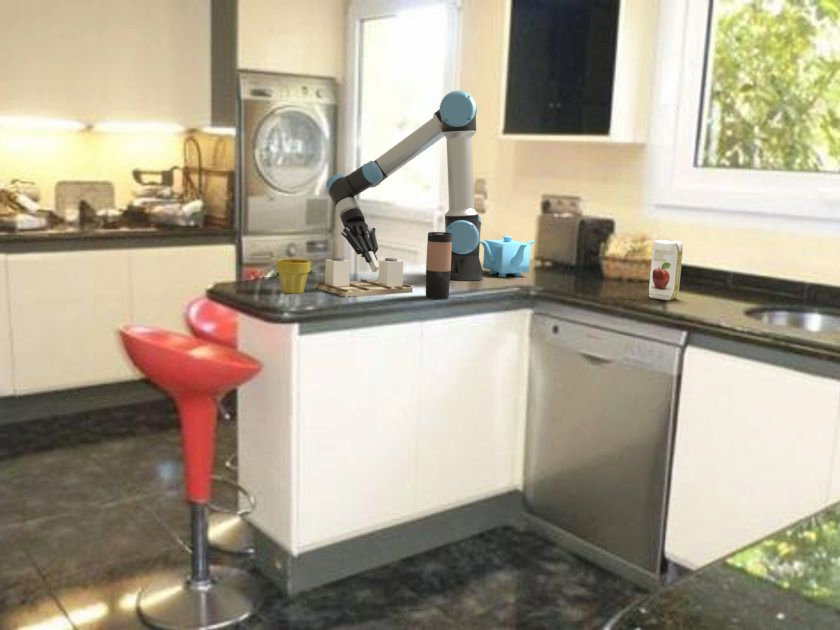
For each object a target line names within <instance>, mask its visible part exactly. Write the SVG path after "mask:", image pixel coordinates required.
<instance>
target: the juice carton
mask: <svg viewBox="0 0 840 630" xmlns="http://www.w3.org/2000/svg"><path fill="white" fill-rule="evenodd" d="M683 249H684V247H683V242H682V241H670V240H666V239H665V240H664V239H659V240H658V239H657V240H655V241H654V244H653V247H652V253H651V254H652V255H651V263H650V264H651V265H650V275H649V276H650V277H649V287H648V291H649V292H648V294H649V298H651V299H657V300H663V301H672V300H676V299H677V297H678V295H679V291H680V282H681V271H682V264H683V263H682V261H683V252H684V250H683Z"/></svg>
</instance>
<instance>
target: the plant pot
mask: <svg viewBox="0 0 840 630" xmlns="http://www.w3.org/2000/svg"><path fill="white" fill-rule="evenodd" d="M276 271H277V272H278V276H279V281H280V286H281V292H283V293H285V294H303V293H304V292H305V288H306V283H307V279H308V275H309V273H310V272H311V260H309V259H302V258H279V259H277V260H276Z"/></svg>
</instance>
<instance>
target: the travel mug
mask: <svg viewBox="0 0 840 630" xmlns="http://www.w3.org/2000/svg"><path fill="white" fill-rule="evenodd" d="M426 244H427V246H426V262H425V298H427V299H431V300H447V299H449V298H450V297H449V294H450V285H451V284H450V282H451V279H450V273H451V250H452V233H446V232H445V231H444V232H443V231H429V232H427V243H426Z"/></svg>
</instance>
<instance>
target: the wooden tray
mask: <svg viewBox="0 0 840 630" xmlns="http://www.w3.org/2000/svg"><path fill="white" fill-rule="evenodd" d="M315 285H316V287H315V289H317V288H320V289H323V290H326V291H330V292H333V293H336V294H339V295H338V296H340V295H342V296H341V297H343V296H345V297H344V298H349V297H348V296H357V297H368V296H367V295H370V296H380V295H391V294H392V295H393V294H394V295H395V294H406V293H413V291H414V287H413V286H412V285H411V284H406V283H403V284H402V286H393V287H390V286H386V285H382V284H379V283H378V279H369V280H367V279H363V278H361V279H360V280H355V281H353V280H352V281H351V280H350V286H339V287H336V286H332V285H329V284H326V283H325V282H321V281H318V282H317V283H316V284H315ZM320 289H319V290H320ZM323 290H322V291H323ZM326 291H325V292H326ZM330 292H329V293H330ZM333 293H332V294H333ZM336 294H335V295H336Z"/></svg>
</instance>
